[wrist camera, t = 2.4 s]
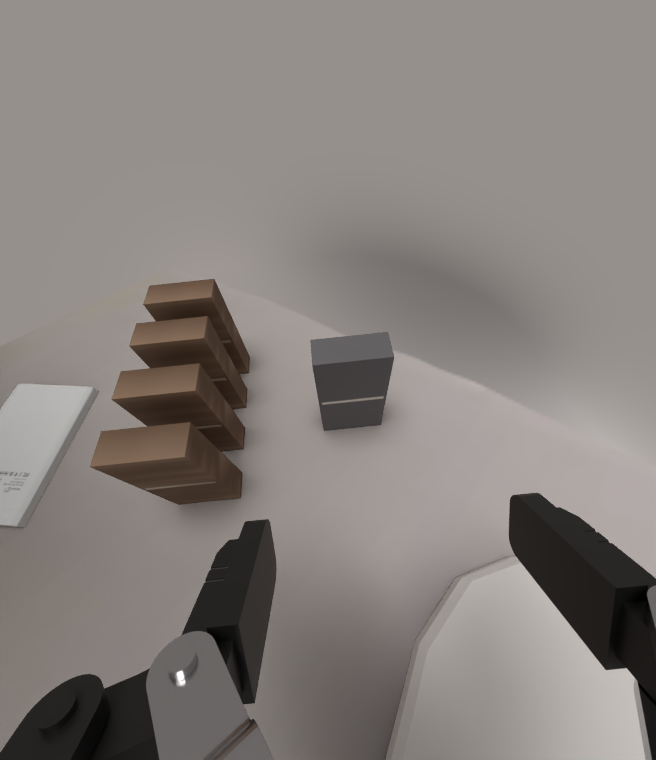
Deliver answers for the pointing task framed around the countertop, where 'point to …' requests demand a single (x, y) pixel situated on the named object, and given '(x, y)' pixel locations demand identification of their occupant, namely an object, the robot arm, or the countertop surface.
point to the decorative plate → (510, 681)
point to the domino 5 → (352, 379)
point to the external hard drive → (36, 443)
